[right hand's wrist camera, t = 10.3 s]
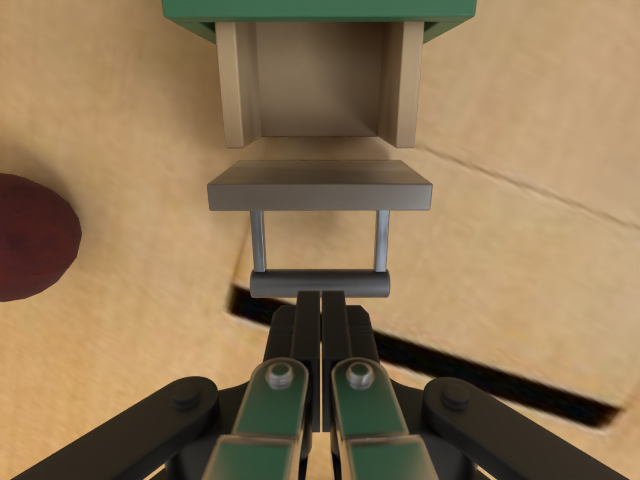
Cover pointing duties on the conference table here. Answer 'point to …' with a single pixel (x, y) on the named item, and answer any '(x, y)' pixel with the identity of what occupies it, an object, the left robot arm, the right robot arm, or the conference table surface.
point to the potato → (33, 237)
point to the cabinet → (318, 13)
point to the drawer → (319, 133)
